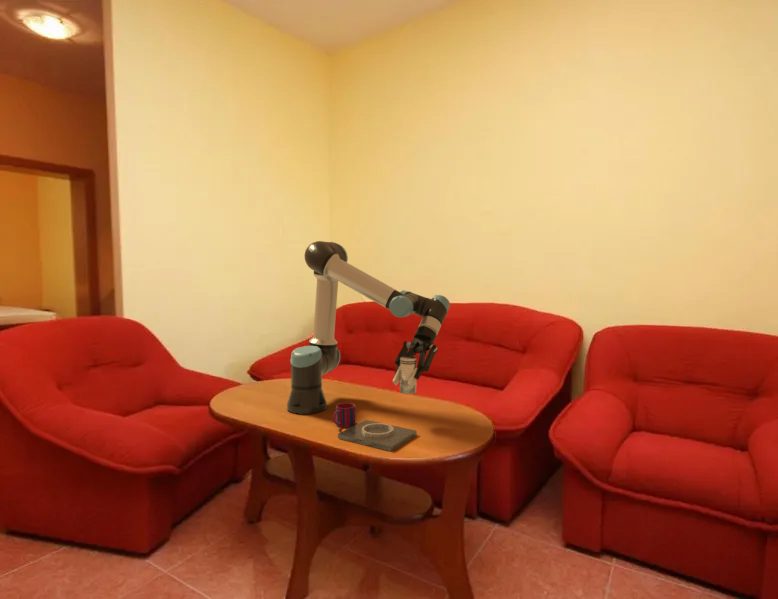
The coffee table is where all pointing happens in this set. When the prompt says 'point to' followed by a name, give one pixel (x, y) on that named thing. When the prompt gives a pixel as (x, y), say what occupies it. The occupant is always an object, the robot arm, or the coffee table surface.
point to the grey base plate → (377, 435)
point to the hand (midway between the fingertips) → (402, 384)
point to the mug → (345, 415)
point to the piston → (407, 374)
